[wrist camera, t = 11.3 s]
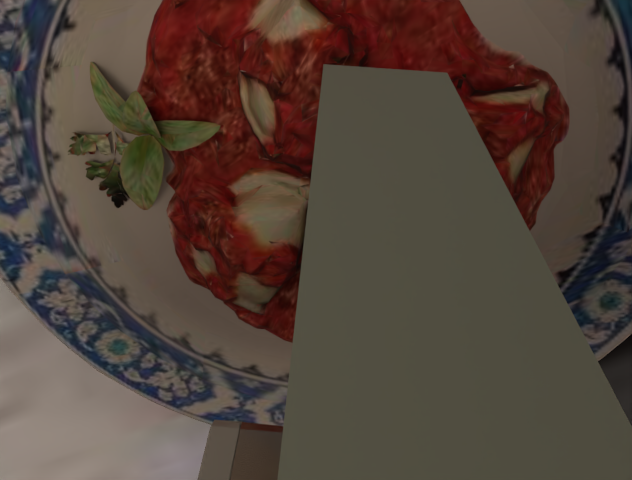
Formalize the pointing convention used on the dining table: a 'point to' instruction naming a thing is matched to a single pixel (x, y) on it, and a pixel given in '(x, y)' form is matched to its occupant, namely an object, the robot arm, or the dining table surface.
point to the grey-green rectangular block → (431, 308)
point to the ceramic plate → (277, 168)
